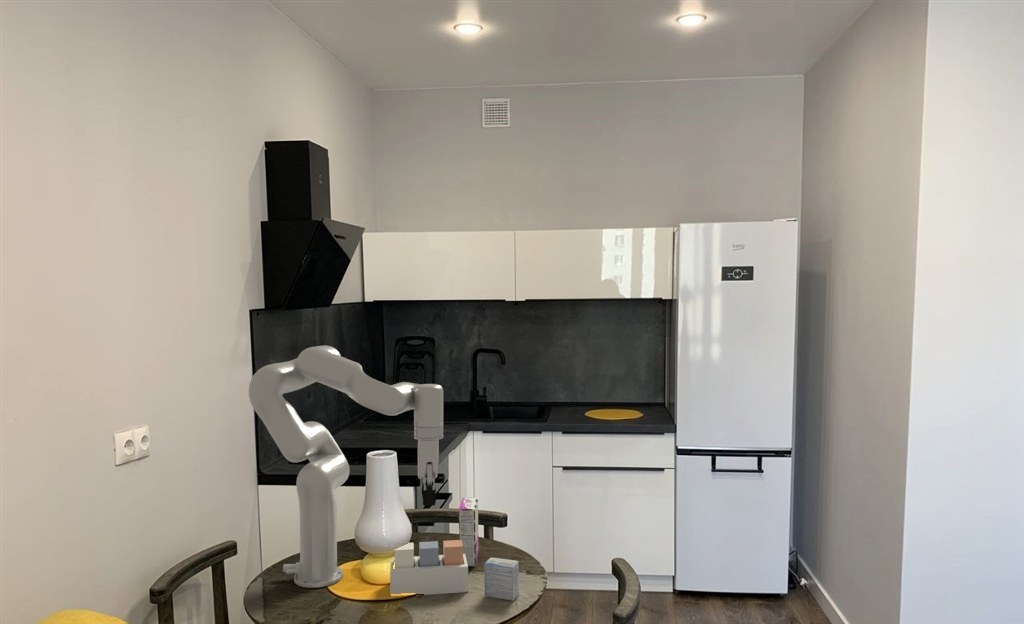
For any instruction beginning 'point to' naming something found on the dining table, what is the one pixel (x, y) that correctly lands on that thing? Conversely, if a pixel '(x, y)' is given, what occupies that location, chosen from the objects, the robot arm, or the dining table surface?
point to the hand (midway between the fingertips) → (428, 501)
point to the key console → (429, 578)
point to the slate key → (428, 554)
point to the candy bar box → (469, 529)
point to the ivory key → (404, 556)
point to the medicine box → (501, 578)
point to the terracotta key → (452, 552)
